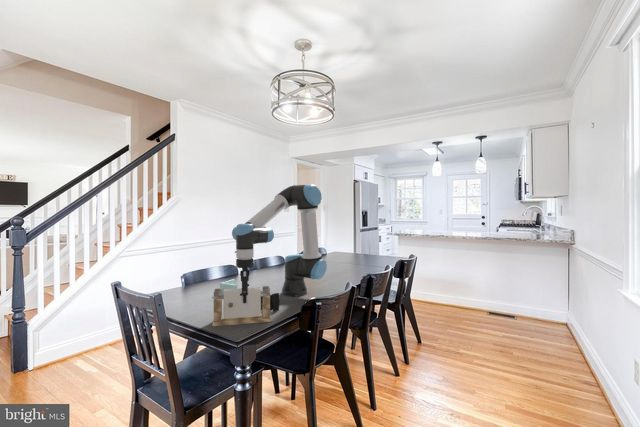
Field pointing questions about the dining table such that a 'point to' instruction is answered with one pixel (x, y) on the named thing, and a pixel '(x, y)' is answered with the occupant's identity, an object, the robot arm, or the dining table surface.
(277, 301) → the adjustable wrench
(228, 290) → the cabinet door
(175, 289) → the dining table surface
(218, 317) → the hinge frame
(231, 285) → the right angle wall
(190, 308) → the dining table surface
